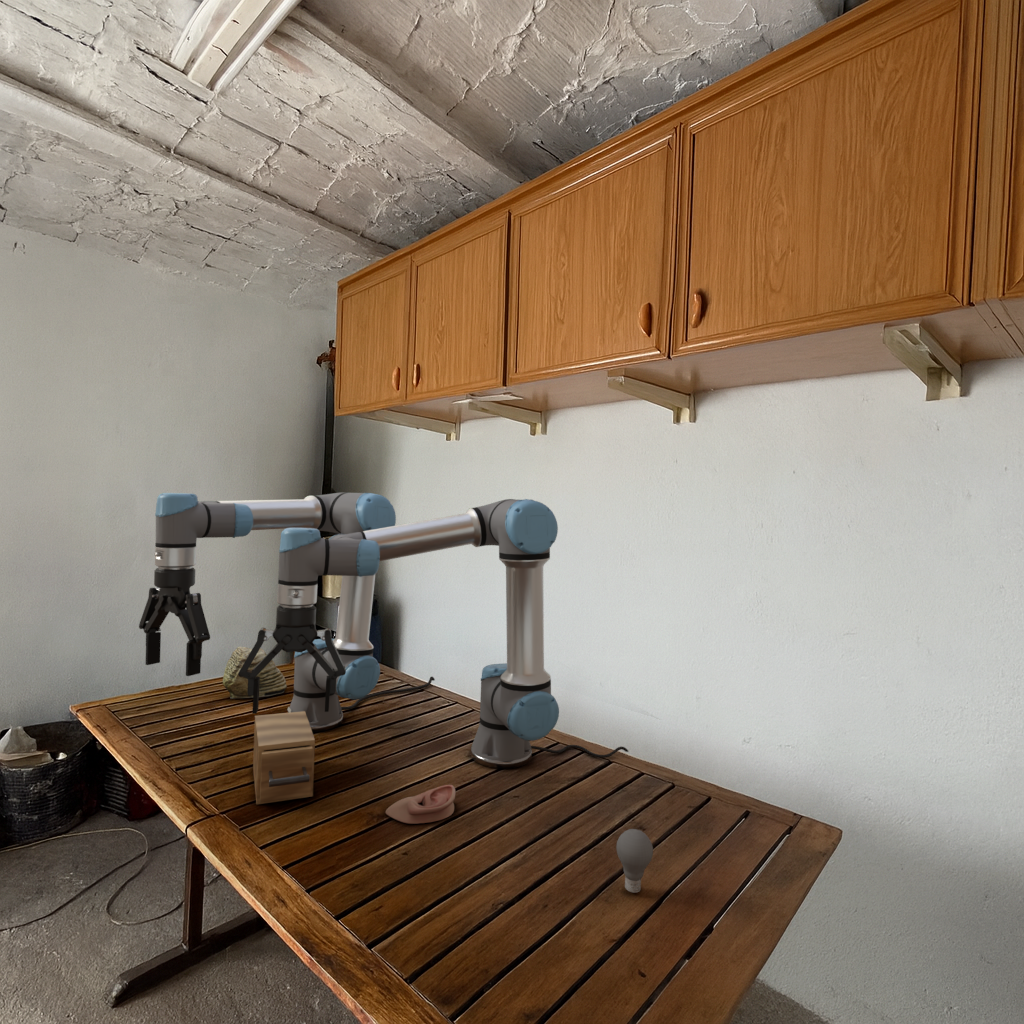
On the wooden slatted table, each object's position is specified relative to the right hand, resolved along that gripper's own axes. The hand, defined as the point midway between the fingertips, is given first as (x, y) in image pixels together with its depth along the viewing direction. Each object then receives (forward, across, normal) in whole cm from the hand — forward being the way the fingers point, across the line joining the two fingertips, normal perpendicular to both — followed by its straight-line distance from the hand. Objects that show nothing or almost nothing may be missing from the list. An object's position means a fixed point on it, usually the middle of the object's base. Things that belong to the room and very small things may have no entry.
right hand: (291, 710), depth 127 cm
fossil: (+20, -16, +78) cm, 82 cm away
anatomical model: (+20, +26, -5) cm, 33 cm away
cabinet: (+20, -2, +14) cm, 25 cm away
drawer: (+19, -1, +9) cm, 21 cm away
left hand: (-6, -25, +12) cm, 28 cm away
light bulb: (+20, +58, -37) cm, 72 cm away
